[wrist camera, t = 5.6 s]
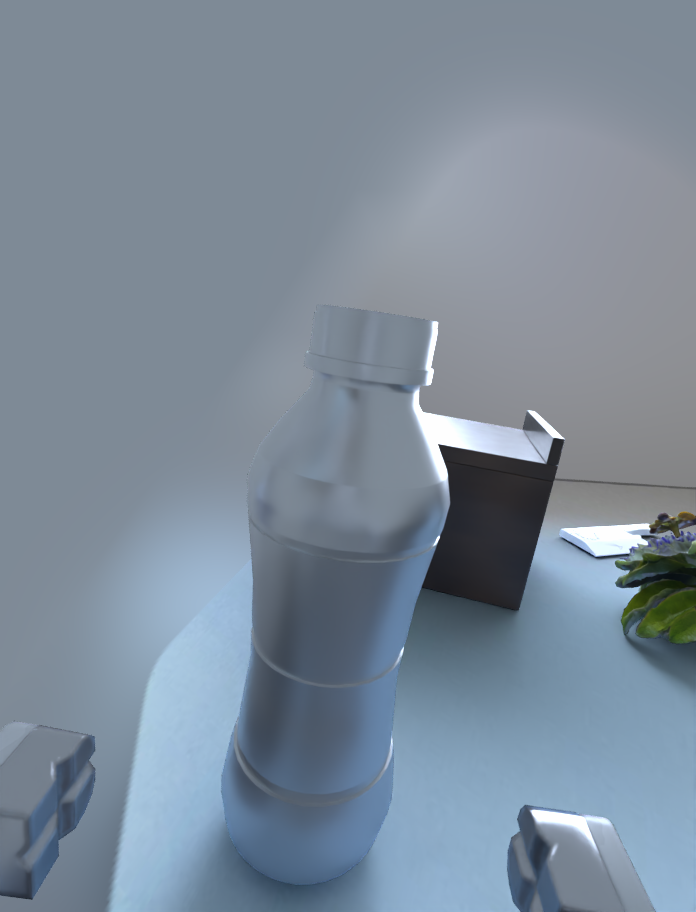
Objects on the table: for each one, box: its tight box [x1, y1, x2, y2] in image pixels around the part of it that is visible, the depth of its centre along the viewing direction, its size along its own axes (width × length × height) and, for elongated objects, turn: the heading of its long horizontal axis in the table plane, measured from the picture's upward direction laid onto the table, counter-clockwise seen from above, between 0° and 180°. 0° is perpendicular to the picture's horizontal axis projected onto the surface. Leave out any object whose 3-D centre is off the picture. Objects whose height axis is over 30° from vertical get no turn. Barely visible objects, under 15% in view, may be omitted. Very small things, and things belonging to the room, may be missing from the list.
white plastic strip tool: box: [559, 524, 659, 557], centre depth 54 cm, size 5×15×1 cm, turn 113°
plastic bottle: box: [221, 305, 450, 885], centre depth 17 cm, size 6×7×20 cm
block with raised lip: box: [422, 410, 565, 610], centre depth 43 cm, size 14×14×14 cm
